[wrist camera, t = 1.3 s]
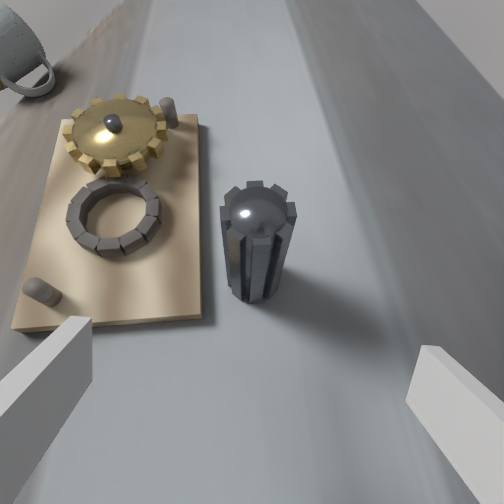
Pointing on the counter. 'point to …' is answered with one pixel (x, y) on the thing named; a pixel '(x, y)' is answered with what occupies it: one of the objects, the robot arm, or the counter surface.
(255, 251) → the pinion
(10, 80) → the ceramic mug
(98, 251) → the board
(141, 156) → the gear
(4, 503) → the robot arm
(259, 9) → the counter surface
